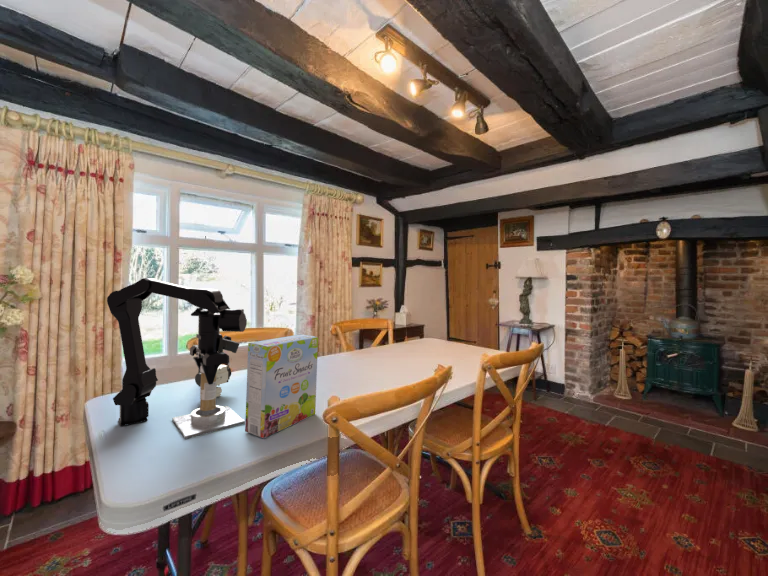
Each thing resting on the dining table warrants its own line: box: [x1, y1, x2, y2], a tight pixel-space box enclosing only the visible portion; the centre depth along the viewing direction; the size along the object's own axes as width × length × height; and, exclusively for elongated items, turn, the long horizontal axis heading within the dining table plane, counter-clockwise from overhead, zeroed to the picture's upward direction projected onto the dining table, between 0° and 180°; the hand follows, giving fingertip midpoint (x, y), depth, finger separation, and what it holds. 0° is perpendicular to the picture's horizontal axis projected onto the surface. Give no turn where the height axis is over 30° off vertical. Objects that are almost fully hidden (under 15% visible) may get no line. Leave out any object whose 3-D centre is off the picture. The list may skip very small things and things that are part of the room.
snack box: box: [244, 333, 319, 439], centre depth 105 cm, size 22×9×26 cm, turn 151°
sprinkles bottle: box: [199, 366, 217, 411], centre depth 105 cm, size 5×5×13 cm
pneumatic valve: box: [194, 364, 232, 398], centre depth 127 cm, size 6×12×12 cm, turn 152°
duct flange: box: [172, 405, 245, 440], centre depth 105 cm, size 16×16×3 cm
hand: (208, 382), depth 105 cm, fingers closed on sprinkles bottle, 4 cm apart
